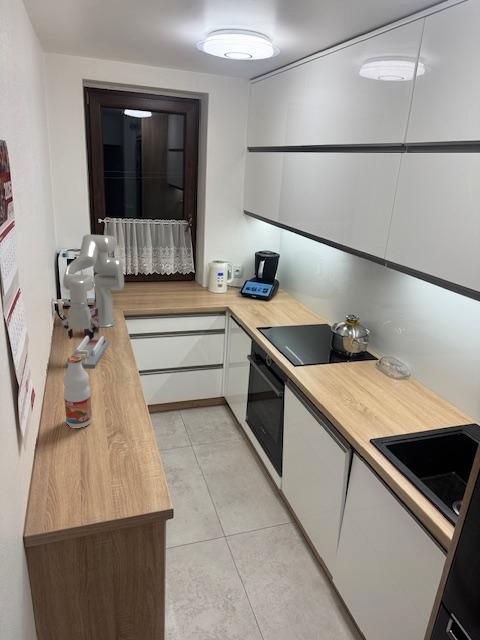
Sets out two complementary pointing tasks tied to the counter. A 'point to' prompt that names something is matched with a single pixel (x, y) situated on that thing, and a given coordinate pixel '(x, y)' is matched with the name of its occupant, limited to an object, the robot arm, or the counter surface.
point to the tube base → (92, 350)
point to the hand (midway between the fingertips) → (81, 338)
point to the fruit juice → (77, 394)
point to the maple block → (83, 355)
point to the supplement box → (95, 317)
